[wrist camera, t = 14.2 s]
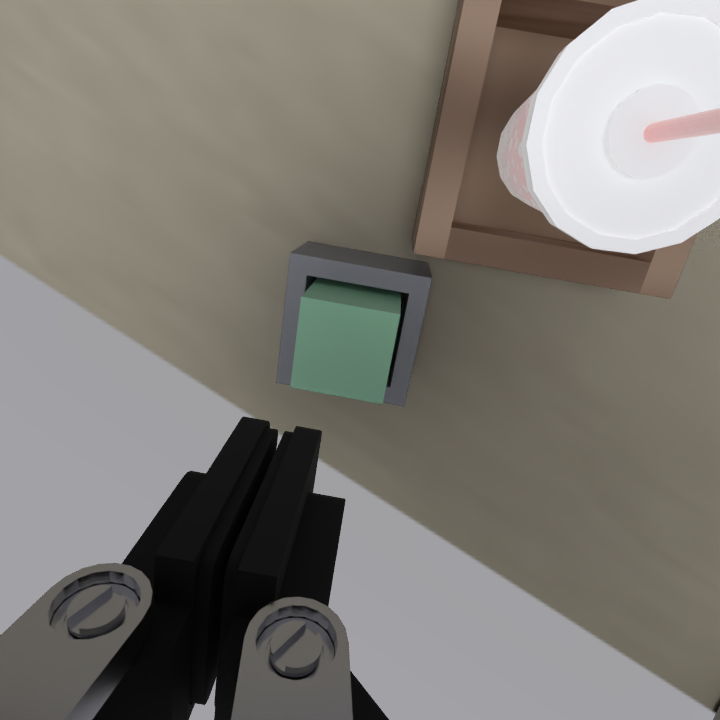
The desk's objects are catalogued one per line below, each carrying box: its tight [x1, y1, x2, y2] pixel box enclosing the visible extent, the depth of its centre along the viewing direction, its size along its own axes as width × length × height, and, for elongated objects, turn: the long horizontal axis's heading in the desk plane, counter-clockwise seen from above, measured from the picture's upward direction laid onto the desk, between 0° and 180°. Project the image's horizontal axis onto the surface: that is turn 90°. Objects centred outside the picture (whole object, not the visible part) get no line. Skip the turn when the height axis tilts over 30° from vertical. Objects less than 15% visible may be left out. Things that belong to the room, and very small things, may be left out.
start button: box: [290, 277, 401, 404], centre depth 21 cm, size 4×4×5 cm
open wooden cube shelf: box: [412, 0, 697, 299], centre depth 19 cm, size 10×10×5 cm
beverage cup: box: [497, 0, 720, 254], centre depth 14 cm, size 6×6×14 cm
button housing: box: [276, 241, 432, 406], centre depth 23 cm, size 6×6×4 cm
